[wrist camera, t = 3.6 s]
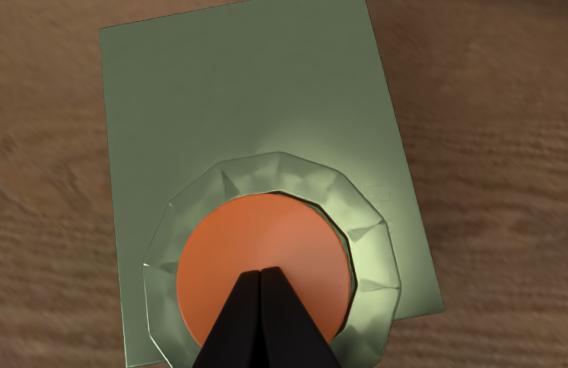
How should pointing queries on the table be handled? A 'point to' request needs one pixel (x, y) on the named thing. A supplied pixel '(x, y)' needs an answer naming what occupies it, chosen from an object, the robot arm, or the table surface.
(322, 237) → the orange button
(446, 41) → the table surface
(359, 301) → the green block
